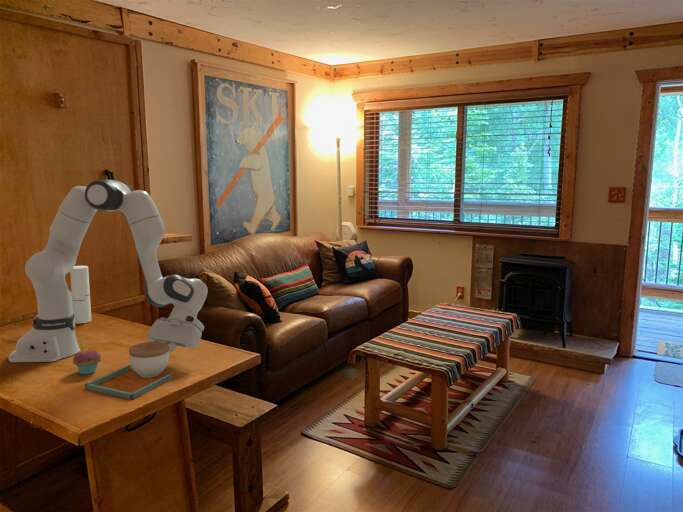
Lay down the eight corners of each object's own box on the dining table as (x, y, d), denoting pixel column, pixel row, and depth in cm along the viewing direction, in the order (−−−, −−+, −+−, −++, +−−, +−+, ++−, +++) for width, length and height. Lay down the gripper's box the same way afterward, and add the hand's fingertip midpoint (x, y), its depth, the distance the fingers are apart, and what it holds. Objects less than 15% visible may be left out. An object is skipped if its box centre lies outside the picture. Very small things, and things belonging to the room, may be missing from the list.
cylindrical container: (95, 321, 230) (91, 266, 226) (81, 325, 223) (77, 269, 219) (83, 319, 232) (80, 265, 228) (69, 323, 226) (66, 267, 222)
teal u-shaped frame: (128, 369, 176) (128, 364, 176) (172, 378, 169) (172, 373, 169) (85, 388, 159) (85, 384, 159) (132, 399, 153) (131, 394, 152)
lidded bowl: (161, 363, 181) (160, 333, 179) (176, 374, 172) (175, 343, 170) (124, 372, 173) (123, 340, 171) (137, 384, 164) (136, 351, 162)
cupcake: (83, 378, 167) (80, 343, 165) (68, 372, 172) (65, 338, 170) (107, 370, 174) (105, 336, 172) (92, 365, 179) (90, 331, 177)
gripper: (153, 312, 187) (135, 346, 179) (200, 319, 179) (182, 355, 172) (162, 321, 191) (145, 354, 184) (208, 328, 184) (191, 363, 177)
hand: (163, 354), depth 178 cm, fingers closed, pressing on lidded bowl
